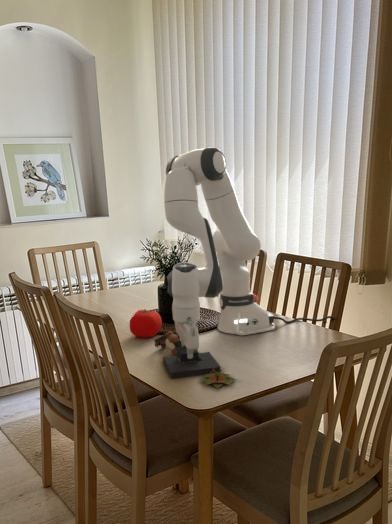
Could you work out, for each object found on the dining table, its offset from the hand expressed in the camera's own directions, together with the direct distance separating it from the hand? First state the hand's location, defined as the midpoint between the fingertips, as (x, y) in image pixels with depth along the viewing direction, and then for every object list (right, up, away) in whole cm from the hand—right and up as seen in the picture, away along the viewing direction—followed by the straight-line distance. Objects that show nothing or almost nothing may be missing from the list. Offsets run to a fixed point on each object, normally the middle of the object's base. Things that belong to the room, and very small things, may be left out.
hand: (187, 353), depth 181 cm
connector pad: (0, -2, +1) cm, 2 cm away
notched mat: (+1, -4, -2) cm, 5 cm away
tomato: (-16, +7, +29) cm, 34 cm away
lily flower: (+9, -9, -13) cm, 18 cm away
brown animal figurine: (-6, +1, +13) cm, 14 cm away
